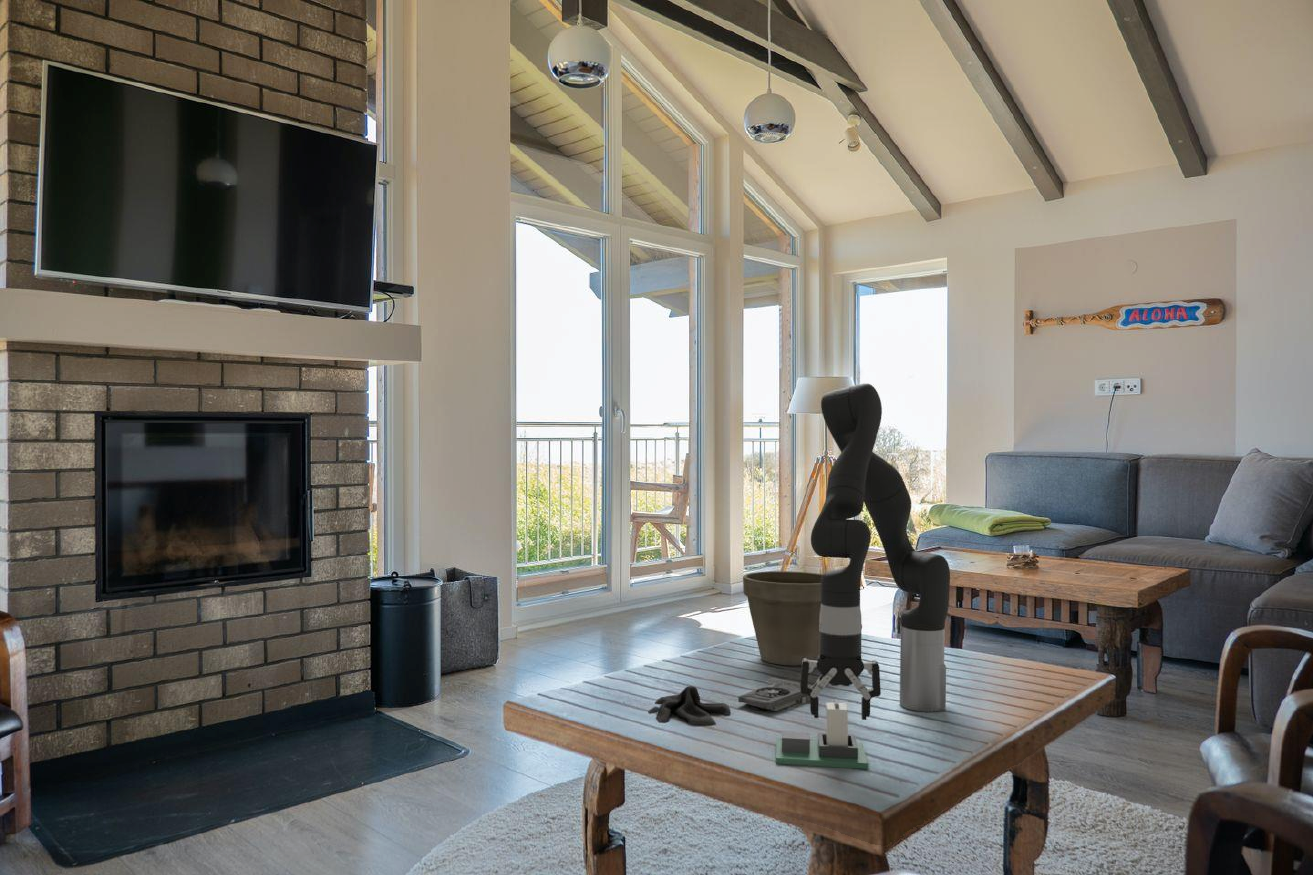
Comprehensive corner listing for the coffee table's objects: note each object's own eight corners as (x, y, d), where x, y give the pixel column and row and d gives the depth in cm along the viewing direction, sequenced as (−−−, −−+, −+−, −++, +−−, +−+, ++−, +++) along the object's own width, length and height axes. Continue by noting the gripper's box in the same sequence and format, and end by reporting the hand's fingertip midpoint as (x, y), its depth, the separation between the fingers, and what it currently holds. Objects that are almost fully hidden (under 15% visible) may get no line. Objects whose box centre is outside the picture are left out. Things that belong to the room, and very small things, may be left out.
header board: (862, 748, 178) (862, 729, 178) (867, 768, 167) (868, 748, 167) (776, 743, 180) (776, 725, 180) (775, 763, 169) (776, 743, 169)
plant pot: (784, 644, 265) (785, 566, 265) (857, 660, 247) (858, 577, 247) (722, 657, 248) (723, 574, 248) (796, 676, 230) (797, 587, 230)
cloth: (668, 696, 213) (668, 669, 213) (745, 709, 204) (746, 680, 204) (619, 723, 193) (619, 692, 193) (702, 738, 185) (703, 706, 185)
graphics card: (770, 676, 219) (815, 684, 211) (770, 692, 219) (815, 701, 211) (725, 690, 206) (771, 700, 198) (726, 708, 206) (771, 718, 198)
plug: (846, 746, 175) (845, 698, 175) (847, 754, 171) (847, 705, 171) (826, 745, 176) (826, 698, 176) (827, 753, 171) (827, 704, 171)
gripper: (878, 625, 176) (877, 713, 176) (800, 623, 177) (799, 710, 178) (882, 634, 168) (882, 725, 168) (801, 632, 170) (800, 722, 170)
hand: (839, 717), depth 173 cm, fingers open, 8 cm apart
